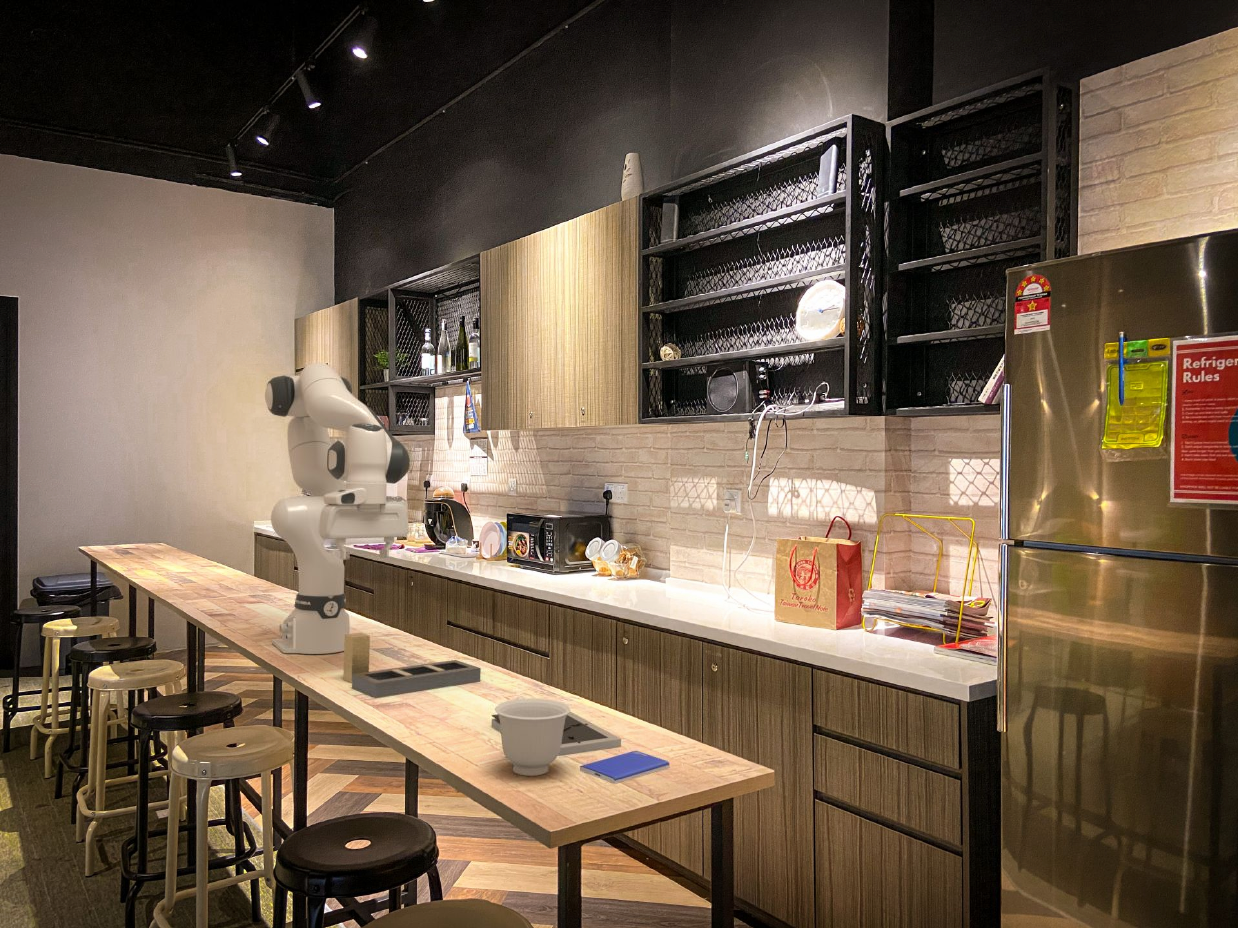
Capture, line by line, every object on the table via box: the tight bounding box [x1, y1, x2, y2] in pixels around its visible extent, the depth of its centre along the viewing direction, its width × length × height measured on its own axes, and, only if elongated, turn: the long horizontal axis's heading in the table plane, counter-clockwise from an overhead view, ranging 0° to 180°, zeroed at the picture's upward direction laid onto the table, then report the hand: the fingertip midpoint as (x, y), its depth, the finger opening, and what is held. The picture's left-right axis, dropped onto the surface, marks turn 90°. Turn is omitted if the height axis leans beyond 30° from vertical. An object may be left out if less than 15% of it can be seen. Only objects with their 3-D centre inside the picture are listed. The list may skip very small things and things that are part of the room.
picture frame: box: [491, 711, 622, 757], centre depth 168 cm, size 16×3×21 cm
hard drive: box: [579, 750, 670, 785], centre depth 151 cm, size 2×8×12 cm
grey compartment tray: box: [351, 659, 482, 699], centre depth 204 cm, size 10×26×3 cm, turn 132°
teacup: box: [494, 696, 571, 777], centre depth 150 cm, size 12×15×10 cm
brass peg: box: [342, 632, 371, 685], centre depth 206 cm, size 4×4×10 cm
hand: (364, 558), depth 207 cm, fingers open, 8 cm apart
